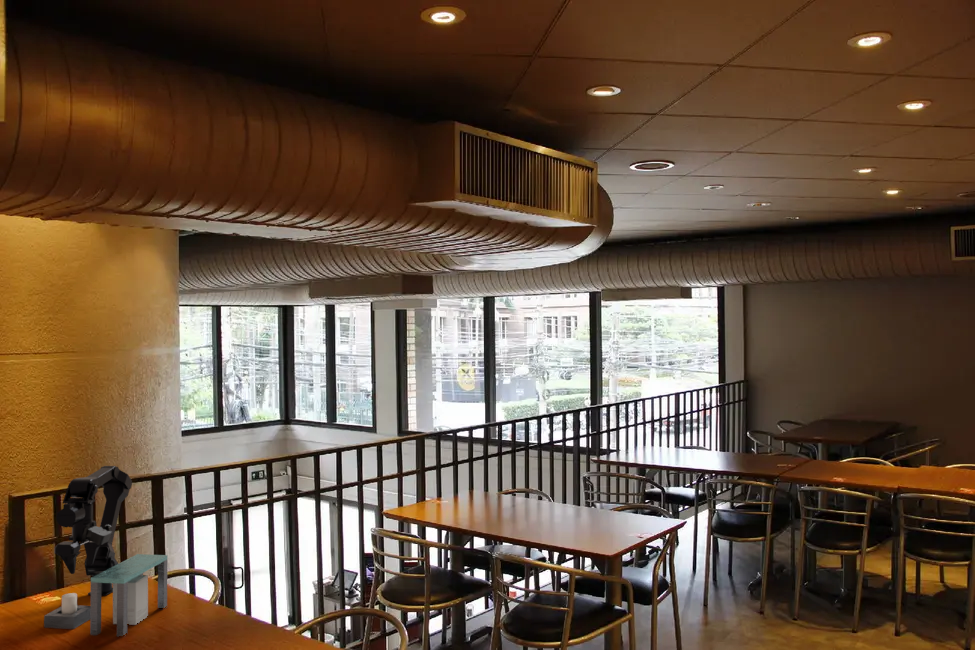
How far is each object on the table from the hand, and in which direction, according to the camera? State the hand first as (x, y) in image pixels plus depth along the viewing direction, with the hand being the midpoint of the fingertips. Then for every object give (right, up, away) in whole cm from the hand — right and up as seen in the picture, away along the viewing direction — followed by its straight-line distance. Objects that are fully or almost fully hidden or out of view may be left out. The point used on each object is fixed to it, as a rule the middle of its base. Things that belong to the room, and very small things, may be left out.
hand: (81, 569), depth 246 cm
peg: (+3, -12, -12) cm, 17 cm away
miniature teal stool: (+20, -12, -10) cm, 25 cm away
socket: (+3, -12, -12) cm, 17 cm away
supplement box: (+20, -12, -10) cm, 26 cm away
